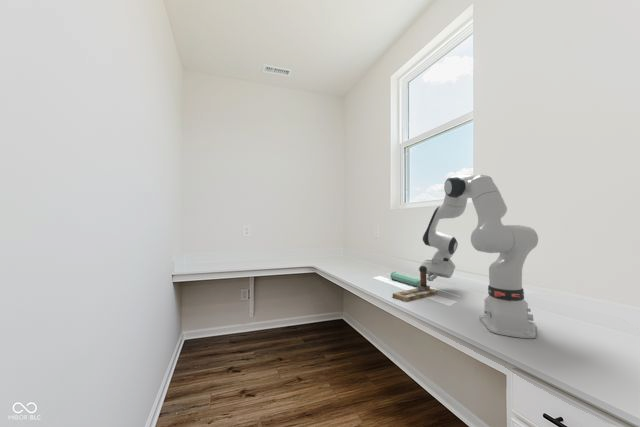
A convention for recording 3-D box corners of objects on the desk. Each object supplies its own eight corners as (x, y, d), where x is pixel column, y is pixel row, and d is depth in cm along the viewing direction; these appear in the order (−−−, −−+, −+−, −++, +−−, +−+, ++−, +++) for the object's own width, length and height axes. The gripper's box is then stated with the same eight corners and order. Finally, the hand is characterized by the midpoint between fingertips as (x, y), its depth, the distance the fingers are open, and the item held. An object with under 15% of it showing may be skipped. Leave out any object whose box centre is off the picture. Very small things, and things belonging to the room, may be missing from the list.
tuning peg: (423, 288, 160) (422, 264, 160) (434, 290, 153) (433, 266, 153) (417, 289, 157) (416, 265, 157) (428, 292, 151) (427, 267, 151)
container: (421, 277, 172) (395, 269, 195) (415, 281, 170) (389, 273, 193) (424, 285, 173) (398, 277, 196) (418, 290, 171) (391, 281, 194)
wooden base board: (422, 290, 163) (422, 286, 163) (437, 294, 155) (437, 290, 155) (392, 297, 151) (392, 292, 151) (407, 301, 142) (407, 297, 142)
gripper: (422, 256, 172) (412, 274, 167) (453, 260, 154) (442, 280, 149) (427, 262, 174) (417, 280, 169) (458, 267, 157) (447, 287, 151)
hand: (429, 280), depth 159 cm, fingers closed
